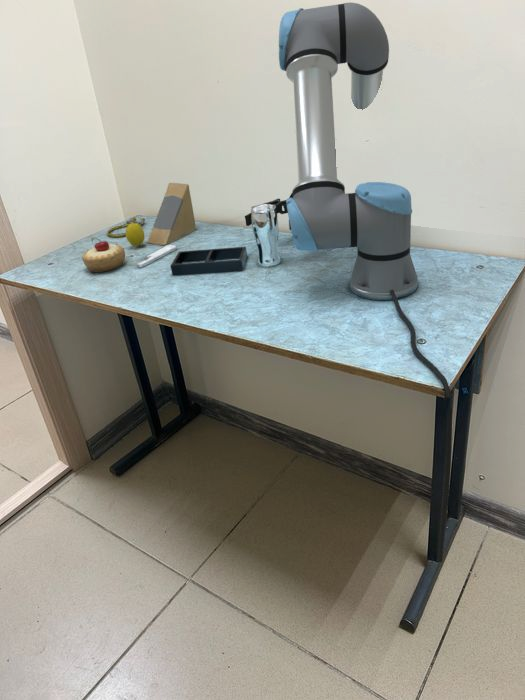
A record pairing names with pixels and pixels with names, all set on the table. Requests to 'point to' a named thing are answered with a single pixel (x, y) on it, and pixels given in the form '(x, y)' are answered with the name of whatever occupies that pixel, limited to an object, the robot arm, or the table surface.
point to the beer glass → (266, 233)
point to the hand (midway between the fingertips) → (267, 223)
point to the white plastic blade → (157, 255)
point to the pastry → (104, 257)
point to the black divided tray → (209, 261)
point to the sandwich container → (173, 216)
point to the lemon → (135, 234)
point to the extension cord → (125, 226)
